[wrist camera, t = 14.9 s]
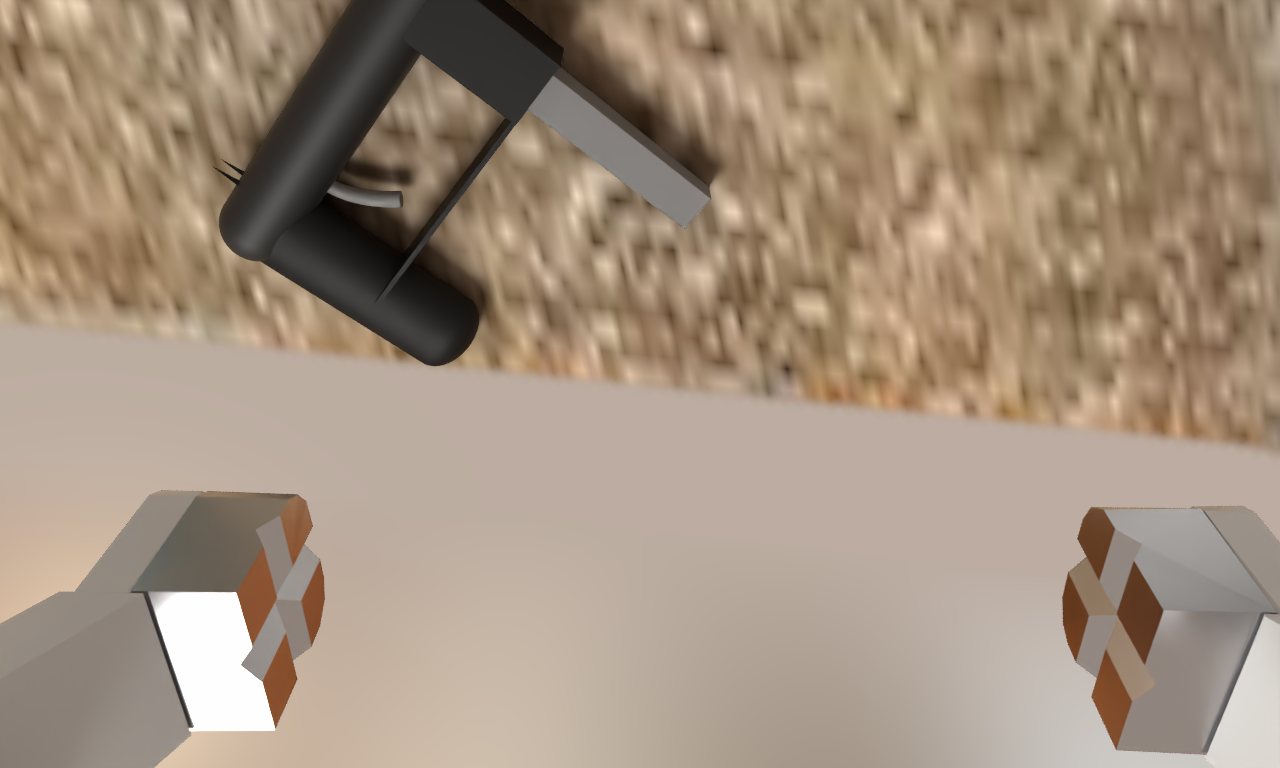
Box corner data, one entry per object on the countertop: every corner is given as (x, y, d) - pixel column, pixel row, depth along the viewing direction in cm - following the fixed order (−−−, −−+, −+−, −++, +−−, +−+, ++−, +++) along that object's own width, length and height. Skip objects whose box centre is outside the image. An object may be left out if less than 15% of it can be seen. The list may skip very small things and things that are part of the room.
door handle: (818, 89, 37) (448, -235, 31) (505, 436, 45) (169, 229, 39) (804, 65, 40) (463, -237, 34) (512, 395, 48) (199, 197, 42)
